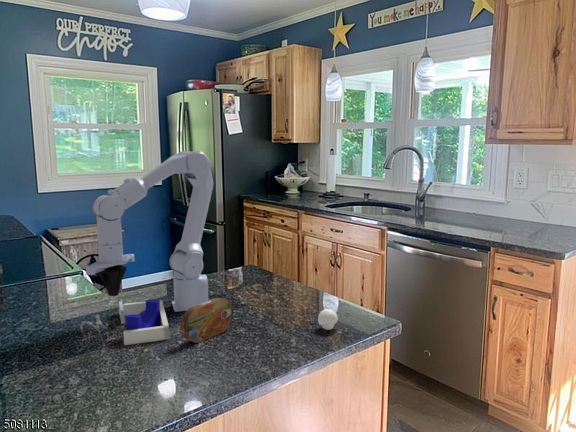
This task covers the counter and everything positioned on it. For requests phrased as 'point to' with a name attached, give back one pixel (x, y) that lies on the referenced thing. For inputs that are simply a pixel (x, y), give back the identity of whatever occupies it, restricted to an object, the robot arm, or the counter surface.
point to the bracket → (145, 333)
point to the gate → (121, 311)
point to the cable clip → (145, 316)
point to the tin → (206, 319)
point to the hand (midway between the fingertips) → (113, 295)
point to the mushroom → (327, 319)
